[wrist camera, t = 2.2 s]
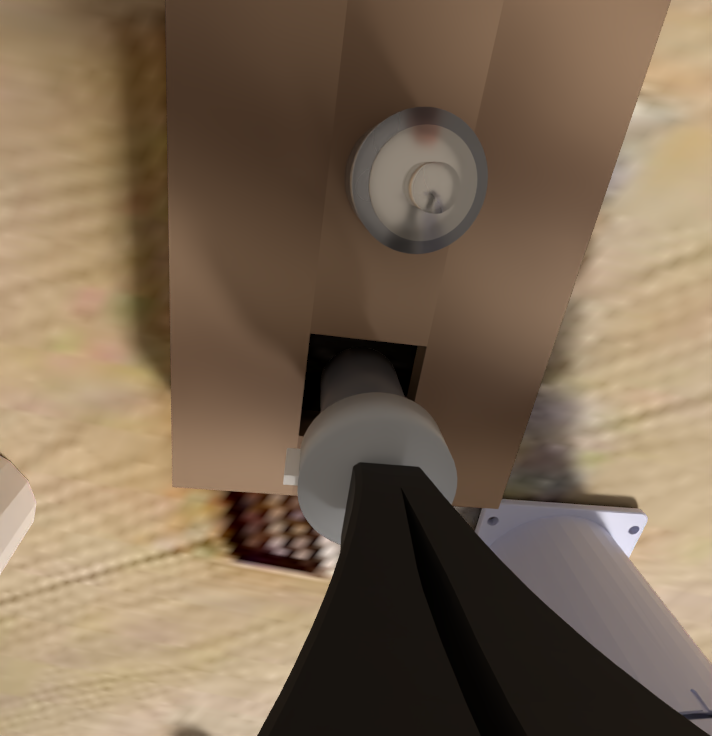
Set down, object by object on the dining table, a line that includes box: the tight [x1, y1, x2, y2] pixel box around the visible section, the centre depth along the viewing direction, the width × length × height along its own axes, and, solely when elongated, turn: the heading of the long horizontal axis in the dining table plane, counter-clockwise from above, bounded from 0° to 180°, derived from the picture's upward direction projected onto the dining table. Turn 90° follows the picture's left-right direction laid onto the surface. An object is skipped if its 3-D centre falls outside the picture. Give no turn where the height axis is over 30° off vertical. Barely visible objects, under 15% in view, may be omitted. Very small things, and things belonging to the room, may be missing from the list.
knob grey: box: [283, 347, 457, 545], centre depth 12 cm, size 3×4×5 cm
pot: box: [344, 107, 488, 254], centre depth 10 cm, size 3×3×4 cm
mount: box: [165, 0, 671, 509], centre depth 13 cm, size 20×11×4 cm, turn 172°
